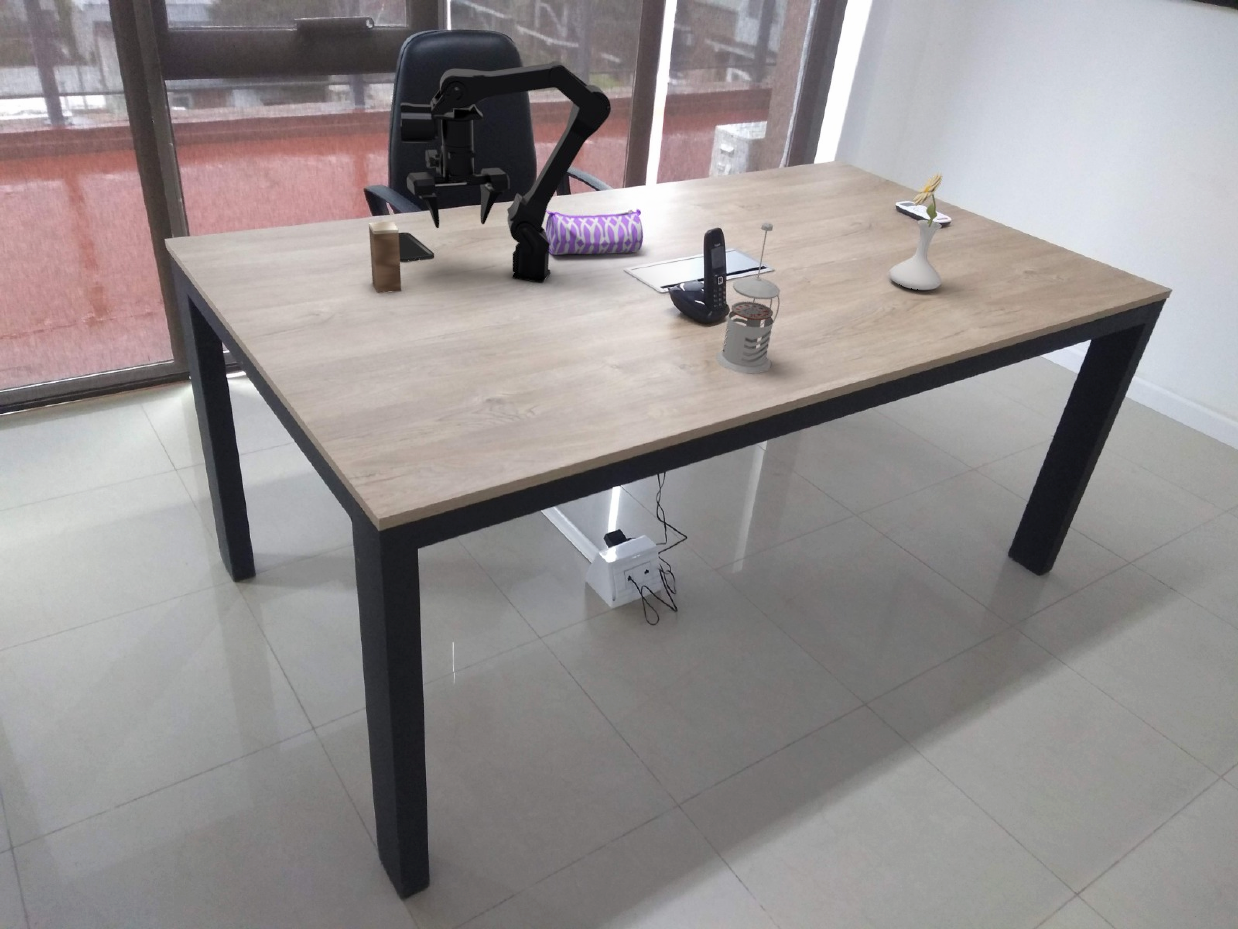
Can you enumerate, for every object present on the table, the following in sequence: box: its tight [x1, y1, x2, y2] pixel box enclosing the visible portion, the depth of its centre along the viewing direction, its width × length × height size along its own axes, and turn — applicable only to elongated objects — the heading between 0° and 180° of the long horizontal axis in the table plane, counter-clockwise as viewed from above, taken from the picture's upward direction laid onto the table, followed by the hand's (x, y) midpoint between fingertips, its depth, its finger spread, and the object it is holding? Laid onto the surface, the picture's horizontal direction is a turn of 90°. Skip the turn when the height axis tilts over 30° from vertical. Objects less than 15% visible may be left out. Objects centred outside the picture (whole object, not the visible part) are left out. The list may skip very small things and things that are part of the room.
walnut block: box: [368, 221, 402, 294], centre depth 172 cm, size 4×4×12 cm
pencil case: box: [545, 208, 644, 256], centre depth 199 cm, size 22×9×9 cm, turn 113°
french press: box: [715, 221, 781, 374], centre depth 155 cm, size 10×12×25 cm
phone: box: [399, 231, 435, 263], centre depth 193 cm, size 8×1×15 cm
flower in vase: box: [888, 172, 943, 291], centre depth 194 cm, size 13×11×25 cm
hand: (460, 225), depth 178 cm, fingers open, 9 cm apart
